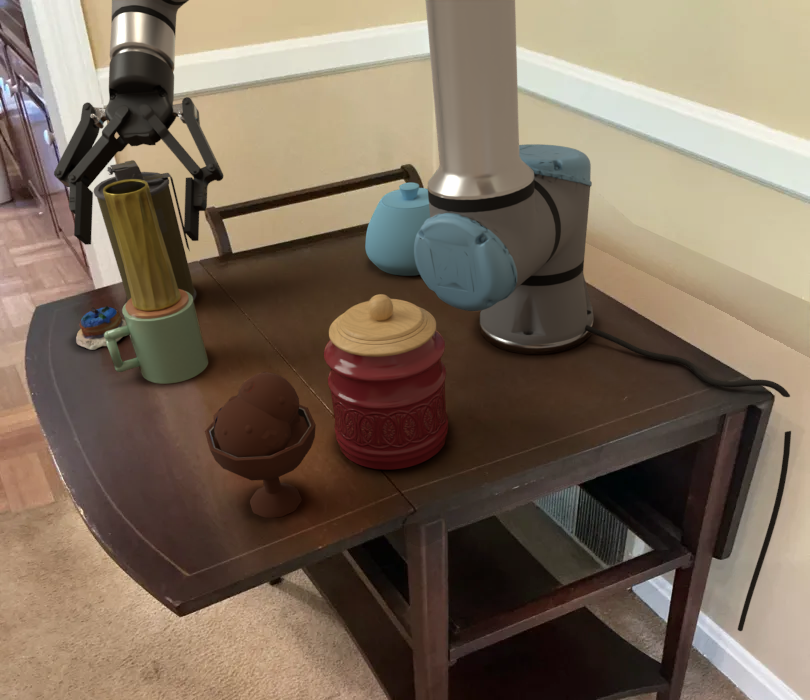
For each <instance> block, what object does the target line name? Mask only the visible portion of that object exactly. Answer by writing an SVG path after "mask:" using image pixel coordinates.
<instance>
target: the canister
mask: <svg viewBox="0 0 810 700" xmlns="http://www.w3.org/2000/svg"><path fill="white" fill-rule="evenodd" d="M106 171H107V172H108V175H109V176H113V174H114V176H113V177H109V178H106V179H105V180H103V181H100V182H99V183H98V184H97V185H96V186H95V187H94V188H93V195H94V196H95V197H96V199H97V202H98V205H99V210H100V212H101V215H102V220H103V222H104V226H105V229H106V232H107V236H108V239H109V242H110V246H111V249H112V252H113V255H114V259H115V263H116V266H117V269H118V272H119V275H120V279H121V282H122V285H123V288H124V292H125V295H126V300H127V301H128V300H129V299H131V298H132V297H131V292H130V289H129V285H128V281H127V276H126V272H125V268H124V264H123V260H122V257H121V254H120V250H119V246H118V243H117V239H116V235H115V232H114V229H113V225H112V222H111V218H110V215H109V211H108V207H107V204H106V200H105V197H104V193H103V189H104V187H105V186H107V185H109V184H111V183H114V182H117V181H121V180H127V179H140V180H144V181H146V182H147V183H148V186H149V189H150V193H151V197H152V201H153V205H154V209H155V212H156V216H157V220H158V224H159V228H160V231H161V234H162V237H163V240H164V243H165V246H166V250H167V253H168V256H169V260H170V263H171V266H172V270H173V273H174V277H175V280H176V283H177V287H178V289H181V290H184V291H186V292H188V293H190V294H191V295H192V297H193V300H194V301H195V300H196V298H197V291H196V288H195V287H194V284H193V280H192V274H191V272H190V271H191V270H190V267H189V263H188V262H189V261H188V258H187V255H186V251H185V246H186V248H187V250H188V252H191V251H190V246H189V241H188V236H187V234H186V233H185V232H184V220H183V217H182V212H181V209H180V203H179V201H178V195H177V191H176V188H175V184H174V179H173V177H172V175H171V174H170V172H164V173H160V172H155V171H154V172H153V171H141V169H140V167H139V165H138V164H137V162H136V160H134V159H131V160H127V161H124V162H120V163H115V164H110V165H109V166H107V169H106ZM170 184H171V188H172V192H173V196H174V199H175V204H176V208H177V212H178V217H179V220H180V224H181V229H182V232H183V237H184V241H185V246H184V243H183V239H182V238H183V237H182V234H181V230H180V226H179V221H178V217H177V213H176V209H175V205H174V200H173V197H172V192H171V188H170Z"/></svg>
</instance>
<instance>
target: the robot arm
mask: <svg viewBox="0 0 810 700" xmlns="http://www.w3.org/2000/svg"><path fill="white" fill-rule="evenodd" d="M189 1H190V0H111V23H110V39H109V40H110V41H109V42H110V43H109V59H110V61H109V68H108V69H109V70H108V96H109V99H108V103H107V105H106V107H95V106H94V105H93V104H92V103H91V102H85V103H83V105H82V107H81V114H80V120H79V122H78V125H77V127H76V128H75V130H74V132H73V134H72V136H71V137H70V140H69V142H68V144H67V145H66V147H65V150H64V152H63V153H62V156H61V157H60V159H59V161H58V163H57V165H56V167H55V169H54V172H53V176H54V177H55V178H56V179H57V180H58V181H59V182H61V183H62V185H64V187H66V188H69V190H68V191H69V193H68V195H69V196H68V208H69V211H70V212H72V214H74V226H73V227H74V229H73V231H74V232H73V236H74V237H76V238H77V239H78V240H79V241H80V242H81V243H82V244H84V245H85V246H86V245H87V246H89V245H92V232H93V231H92V230H93V229H92V228H93V205H94V203H93V202H94V201H93V200H94V191H92V190H91V189H90V188H89V187H90V186H91V185H92V183H93V182H94V181H95V180H96V179H97V178H98V176H99V175H101V173H102V172H103V170H104V169H105V168H106V167H107V165H109V163H110V162H111V161H112V160H113V158H114V157H115V156H116V155H117V154H118V153H120V152H123V151H124V149H126V147H127V146H128V145H129V146H130V147H138V146H141V145H146V146H156V144H157V143H158V142H160V141H161V140H162V142H163V143H164V144H165V145H166V147H167V148H168V149H169V150H170V151H171V152H172V153H173V154H174V156H175V157H176V158H177V160H178V161H179V162H180V163H181V164H182V165H183V167H184V168H185V169H186V170H187V172H188V173H189V174H190V175H191V176H192V177H185V189H184V218H183V219H184V220H183V224H184V232H185V233H186V236H187V238H189V239H190V240H191V241H192V242H198V241H199V240H200V239H199V235H200V212H205V211H206V210H207V207H208V188H209V185H210V183H212V182H214V181H216V182H220V181H223V179H224V172H223V171H222V169H221V166H220V164H219V161H217V158H216V156H215V154H214V152H213V150H212V148H211V145H210V143H209V142H208V139H207V138H206V135H205V133H204V131H203V129H202V127H201V120H200V111H199V109H198V108H197V106H196V105H195V103H194V102H193V100H192V99H191V97H187V96H186V97H184V98H183V99H182V100H181V102H180V103H176V104H174V101H175V100H174V99H175V97H174V95H175V74H174V71H175V65H176V63H175V62H176V61H175V58H176V32H177V31H176V30H177V27H176V26H177V14H178V10H179V9H180V8H182V6H184V5H185V4H187V3H188V2H189ZM425 11H426V12H425V13H426V23H427V24H426V25H427V35H428V36H427V37H428V44H429V57H430V68H431V69H430V71H431V81H432V93H433V104H434V115H435V128H436V129H435V130H436V140H437V151H438V152H437V153H438V161H439V162H438V164H439V165H438V167H437V169H436V170H435V171H434V173H433V174H432V175H431V176H430V178H429V179H428V181H427V188H426V189H428V199H429V210H430V218H428V219H427V220H426V221H425V222H424V223H423V225H422V227H421V228H420V230H419V232H418V233H417V235H416V238H415V243H414V257H415V262H416V266H417V269H418V271H419V273H420V275H419V276H420V277H421V279H422V281H423V282H424V284H425V285H426V287H427V288H428V289H429V291H433V292H434V293H435V295H436V296H437V298H439V299H440V301H442V302H443V303H445V304H447V305H449V306H450V307H453V308H455V309H457V310H461V311H466V312H479V311H480V312H479V331H480V334H481V336H482V337H483V339H485V340H486V341H487V342H488V343H490V344H491V345H493V346H495V347H496V348H500V349H501V350H505V351H509V352H513V353H518V354H526V355H542V354H543V355H544V354H545V355H547V354H551V353H552V354H554V353H558V352H563V351H567V350H569V349H572V348H576V347H577V346H579V345H580V344H582V343H584V342H585V341H586V340H587V339H589V337H590V336H591V334H592V335H595V336H598V337H601V338H603V339H605V340H608V341H610V342H612V343H614V344H616V345H619V346H621V347H623V348H625V349H627V350H628V351H630V352H633V353H636V354H637V355H640V356H644V357H646V358H650V359H654V360H659V361H665V362H671V363H676V364H680V365H682V366H684V367H686V368H687V369H689V370H691V371H692V372H693V373H694V374H695V375H696V376H697V377H698V378H699V379H700V380H701V381H703V382H705V383H707V384H710V385H712V386H716V387H720V388H744V387H758V386H759V387H767V388H770V389H773V390H774V391H775V392H778V394H780V396H782V397H783V398H790V397H791V394H790V393H789V392H788V390H787V389H786V388H785V387H783V386H782V385H781V384H779V383H777V382H775V381H771V380H768V379H744V380H730V381H729V380H719V379H716V378H712V377H710V376H709V375H707V374H705V373H704V372H703V371H702V370H701V369H700V368H699V367H698V366H697V365H696V364H695V363H693V362H691V361H690V360H687V359H685V358H682V357H679V356H675V355H670V354H664V353H657V352H652V351H649V350H647V349H646V350H645V349H643V348H641V347H638V346H636V345H633V344H632V343H629V342H627V341H625V340H623V339H621V338H619V337H617V336H615V335H612V334H610V333H608V332H605V331H602V330H600V329H598V328H595V327H594V320H595V319H594V318H595V317H594V310H593V306H592V301H591V298H590V293H589V291H588V286H587V282H586V278H585V273H584V269H585V268H584V265H585V255H586V241H587V233H588V232H587V230H588V219H589V206H590V197H591V196H590V195H591V188H592V181H591V175H592V174H591V173H592V172H591V169H592V168H591V167H592V165H591V164H592V163H591V160H590V158H589V157H588V156H587V154H586V153H585V152H583V151H581V150H579V149H577V148H572V147H568V146H563V145H554V144H541V143H540V144H539V143H538V144H537V143H536V144H535V143H533V144H532V143H531V144H520V129H519V128H520V127H519V126H520V123H519V91H518V87H519V86H518V54H517V22H516V21H517V20H516V19H517V17H516V15H517V14H516V0H425ZM177 118H179V119H180V122H182V123H183V124H185V125H186V127H187V129H188V132H189V133H190V135H191V137H192V140H193V142H194V143H195V146H196V148H197V150H198V152H199V155H200V157H201V158H202V160H203V162H204V164H205V166H203V167H200V165H198V163H197V162H196V161H195V160H194V159H193V158H192V156H191V155H190V154H189V153H188V151H186V149H185V148H184V147H183V146H182V144H181V143H180V142H179V141H178V140H177V138H176V137H175V136H174V135H173V134H172V133H171V132H170V130H169V129H170V128H171V126H172V125H173V124H174V122H175V121H176V119H177ZM107 121H108V123H107V124H106V125H105V126H104V124H105V122H107ZM101 129H102V130H101ZM100 130H101V136H100V137H99V138H98V136H99V134H100ZM116 133H117V135H118V137H115V135H116ZM96 140H97V141H96ZM791 439H792V430H788V431H784V438H783V453H782V461H781V468H780V469H781V470H780V474H779V481H778V486H777V491H776V495H775V499H774V505H773V508H772V512H771V516H770V520H769V523H768V526H767V530H766V533H765V536H764V539H763V542H762V546H761V550H760V552H759V556H758V559H757V562H756V564H755V567H754V571H753V574H752V577H751V580H750V583H749V586H748V590H747V593H746V596H745V600H744V602H743V607H742V611H741V614H740V619H739V621H738V626H737V631H739V632H742V631H744V626H745V624H746V623H745V622H746V619H747V615H748V612H749V609H750V605H751V601H752V598H753V595H754V593H755V588H756V585H757V582H758V580H759V576H760V573H761V570H762V567H763V565H764V561H765V558H766V555H767V552H768V548H769V545H770V542H771V539H772V536H773V533H774V529H775V526H776V523H777V519H778V516H779V513H780V512H779V511H780V507H781V503H782V500H783V494H784V490H785V485H786V480H787V474H788V469H789V461H790V452H791Z"/></svg>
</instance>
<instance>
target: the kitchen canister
mask: <svg viewBox="0 0 810 700" xmlns="http://www.w3.org/2000/svg"><path fill="white" fill-rule="evenodd" d="M328 337H329V340H328V341H327V342H326V344H325V346H324V350H323V358H324V362H325V363H326V365H327V366H328V367H329V369H330V371H329V373H328V376H327V385H328V388H329V391H330V394H331V395H330V396H331V402H332V409H333V415H334V433H335V439H336V441H337V443H338V445H339V448H340V451H341V453H342V454H343V455H344V456H345V457H346V458H347V459H348V460H350V461H351V462H352V463H355V464H357V465H360V466H362V467H365V468H368V469H374V470H385V471H386V470H387V471H388V470H400V469H406V468H411V467H414V466H417V465H420V464H422V463H424V462H427V461H428V460H430V459H431V458H432V457H434V456H435V455H437V454H438V453H439V452H440V451H441V449H443V447H444V446H445V443H446V440H447V434H448V431H449V415H448V412H447V398H446V378H447V369H446V366H445V364H444V362H443V361H442V358H443V355H444V353H445V352H446V341H445V338H444V337H443V335H442V334H441V333H440V332H439V330H437V321H436V318H435V317H434V316H433V314H431V312H429V311H428V310H426V309H424V308H422V307H420V306H418V305H416V304H415V303H413V302H410V301H407V300H403V299H396V298H390V297H389V296H388V295H386V294H382V293H381V294H380V293H379V294H378V293H377V294H376V295H372V296H371V298H370V299H369V300H366V301H362V302H360V303H358V304H355V305H353V306H350V308H348V309H347V310H346V311H345V312H344V313H342V314H340V315H339V316H337V318H335V319H334V320H333V321H332V323H331V324H330V326H329V328H328Z"/></svg>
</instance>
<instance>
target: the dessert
mask: <svg viewBox="0 0 810 700" xmlns="http://www.w3.org/2000/svg"><path fill="white" fill-rule="evenodd" d="M123 326H126V322H125V319H123V317H122V315H121V314H120V312H119V310H118V309H115V308H114V307H110V306H108V305H106V306H103V307H100V308H96V307H93V306H91V310H89V311H88V312H86V313H85V314H84V315H83V316H82V317H81V318H80V321H79V327H80V329H79V330H78V331H77V333H76V337H75V343H76V344H77V346H80V347H82V348H86V349H87V350H93V351H95V350H97V349H99V348H101V347H108V346H107V343H106V340H105V337H104V333H105V332H106V331H109V330H112V329H116V328H119V327H123ZM121 339H123V337H120V338H117V339H115V340H116V343H118V342H119V341H120V340H121Z"/></svg>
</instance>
